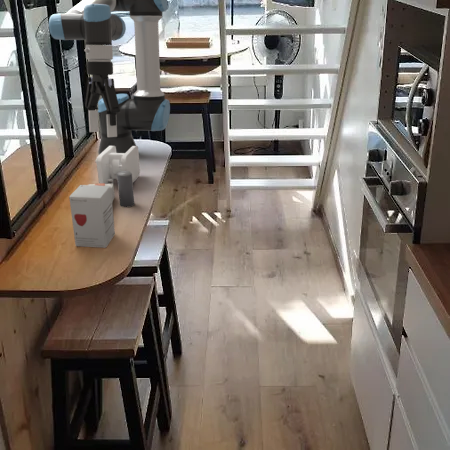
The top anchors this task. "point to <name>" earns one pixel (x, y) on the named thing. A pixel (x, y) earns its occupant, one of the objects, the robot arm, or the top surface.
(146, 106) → the robot arm
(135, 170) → the cable organizer
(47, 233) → the top surface
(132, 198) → the plug
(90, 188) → the supplement box
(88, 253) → the top surface
